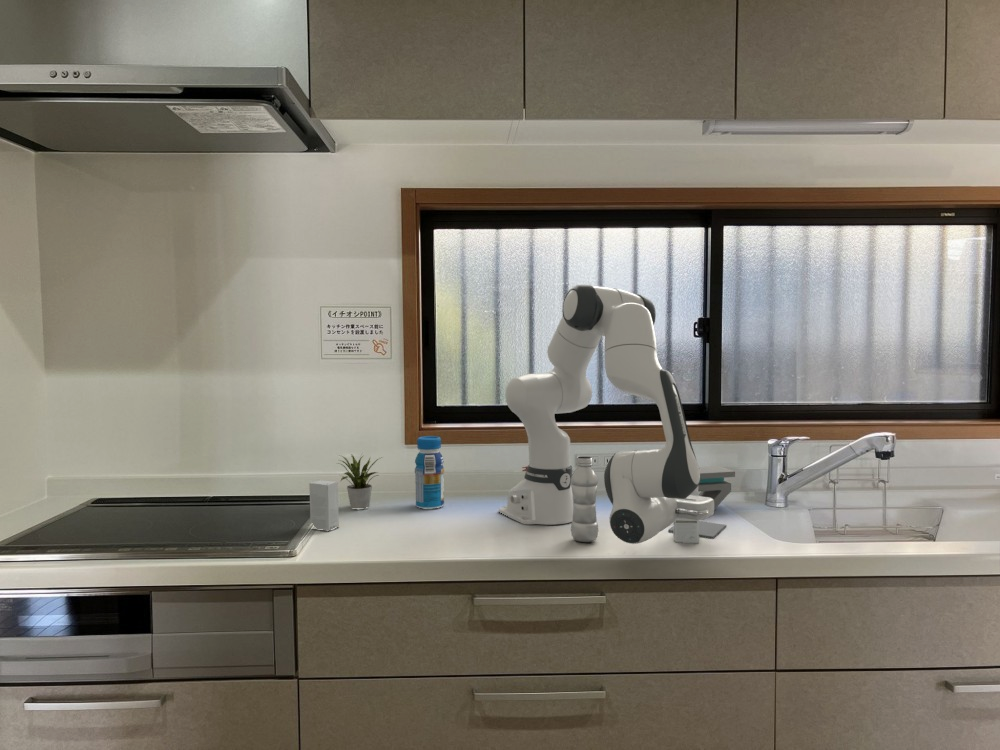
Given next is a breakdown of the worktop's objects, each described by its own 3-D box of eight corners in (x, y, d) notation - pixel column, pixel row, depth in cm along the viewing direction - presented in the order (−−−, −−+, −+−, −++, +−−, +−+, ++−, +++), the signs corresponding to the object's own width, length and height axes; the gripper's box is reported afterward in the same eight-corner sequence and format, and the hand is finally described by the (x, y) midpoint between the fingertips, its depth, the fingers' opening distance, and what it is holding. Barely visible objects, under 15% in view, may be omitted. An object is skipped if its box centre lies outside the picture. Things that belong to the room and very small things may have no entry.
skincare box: (339, 527, 172) (338, 481, 171) (328, 532, 168) (327, 485, 167) (320, 525, 174) (319, 479, 174) (309, 529, 171) (308, 482, 170)
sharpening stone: (652, 516, 181) (652, 476, 181) (639, 508, 189) (639, 470, 188) (734, 510, 187) (735, 471, 186) (719, 503, 195) (719, 466, 194)
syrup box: (699, 543, 156) (699, 482, 156) (673, 542, 158) (673, 481, 157) (697, 536, 162) (697, 477, 161) (672, 535, 163) (672, 476, 162)
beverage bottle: (409, 507, 192) (408, 438, 191) (427, 501, 199) (426, 434, 198) (432, 511, 187) (431, 440, 186) (450, 505, 194) (449, 436, 193)
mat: (713, 538, 160) (713, 536, 160) (668, 531, 166) (668, 529, 166) (726, 526, 170) (726, 524, 170) (683, 520, 176) (683, 518, 176)
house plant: (319, 511, 189) (318, 453, 188) (348, 500, 201) (347, 446, 200) (362, 516, 183) (361, 456, 182) (389, 504, 196) (388, 449, 195)
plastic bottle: (581, 546, 155) (581, 461, 154) (565, 539, 161) (565, 456, 160) (604, 542, 158) (604, 458, 156) (587, 535, 164) (587, 454, 162)
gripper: (704, 500, 136) (723, 487, 148) (611, 488, 147) (635, 477, 159) (704, 530, 137) (722, 515, 148) (611, 516, 148) (635, 503, 159)
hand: (676, 495), depth 154 cm, fingers closed
